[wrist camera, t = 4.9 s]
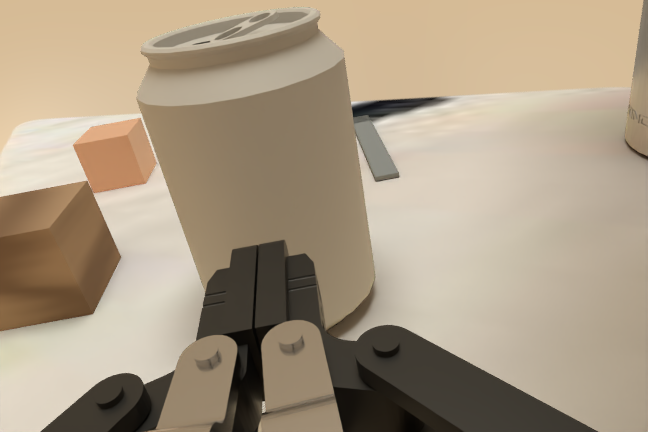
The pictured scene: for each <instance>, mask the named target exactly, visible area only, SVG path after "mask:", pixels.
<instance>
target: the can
mask: <svg viewBox="0 0 648 432" xmlns="http://www.w3.org/2000/svg"><path fill="white" fill-rule="evenodd" d="M319 19H320V12H319V11H318V10H317V9H313V8H310V7H293V8H281V9H272V10H265V11H258V12H252V13H246V14H241V15H236V16H230V17H225V18H221V19H216V20H211V21H207V22H203V23H199V24H195V25H191V26H187V27H184V28H181V29H177V30H174V31H171V32H167V33H165V34H162V35H159V36H157V37H154V38H152V39H150V40H148V41H147V42H145V43H143V45H142V46H141V54H142V55H144V56H146V57H147V58H148V60H149V63H150V65H149V68H148V70H147V72H146V74H145V76H144V79H143V81H142V83H141V85H140V87H139V90H138V92H137V102H138V104H139V108H140V110H141V113H142V116H143V119H144V122H145V124H146V127H147V130H148V133H149V136H150V138H151V141H152V144H153V147H154V150H155V152H156V155H157V158H158V161H159V164H160V166H161V169H162V172H163V175H164V178H165V180H166V183H167V186H168V189H169V192H170V194H171V197H172V200H173V203H174V206H175V208H176V211H177V214H178V217H179V220H180V223H181V225H182V228H183V231H184V234H185V237H186V239H187V242H188V245H189V248H190V251H191V253H192V256H193V259H194V262H195V265H196V267H197V270H198V273H199V276H200V279H201V281H202V284H203V287H204V290H205V292H206V287H207V282H208V281H209V280H210V278H211V277H212V276H213V274H214V273H215V272H216V270H219V269H224V268H229V267H230V260H231V253H232V250H233V249H237V248H242V247H247V246H253V245H259V244H263V243H268V242H273V241H279V240H285V242H286V245H287V249H288V253H289V256H292V255H298V254H303V253H306V254H307V256H308V257H309V258H310V259H311V260H312V261H313V262H314V266H315V270H316V275H317V280H318V284H319V289H320V293H321V298H322V303H323V310H324V318H325V325H326V330H327V329H329V328H330V327H332V326H334V325H335V324H337V323H339V322H340V321H342V320H343V319H344V318H345V317H346V316H347V315H348V314H350V313H352V312H353V311H354V310H355V309H356V308H357V307H358V306H359V304H360V303H361V302H362V301H363V300H364V299H365V298H366V297H367V296H368V295H369V292H370V290H371V287H372V285H373V282H374V279H375V271H374V262H373V255H372V248H371V241H370V234H369V227H368V220H367V213H366V206H365V199H364V192H363V185H362V178H361V171H360V164H359V157H358V150H357V143H356V136H355V129H354V122H353V114H352V107H351V100H350V94H349V87H348V79H347V73H346V65H345V58H344V51H343V50H342V49H341V48H340V47H339V46H338V45H336V44H335V43H334V42H333V41H332V40H331V39H329V38H328V37H327V36H326V35H325V34H324V33H323V32H321V31H320V30H319V29H318V25H317V22H318V20H319Z"/></svg>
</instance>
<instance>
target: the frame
mask: <svg viewBox="0 0 648 432" xmlns="http://www.w3.org/2000/svg"><path fill="white" fill-rule="evenodd" d="M353 122H354V129H355V133H356V135H357V138H358V140H359V142H360V145H361V147H362V149H363V152H364V154H365V157H366V159H367V161H368V164H369V166H370V169H371V171H372V173H373V176H374V178H375V180H376V181H380V180H385V179H390V178H396V177H399V172H398V170H397V168H396V167H395V165H394V163H393V161H392V159H391V157H390V155H389V154H388V152H387V150H386V148H385V146H384V144H383V142H382V140H381V139H380V137H379V135H378V133H377V131H376V129H375V127H374V125H373V124H372V122H371V120H370V118H369V116H368V115H366V116H360V117H355V118H353Z"/></svg>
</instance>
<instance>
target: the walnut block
mask: <svg viewBox="0 0 648 432" xmlns="http://www.w3.org/2000/svg"><path fill="white" fill-rule="evenodd" d="M120 259H121V256H120V254H119V251H118V249H117V247H116V245H115V242H114V240H113V238H112V236H111V233H110V231H109V229H108V227H107V224H106V222H105V220H104V217H103V215H102V213H101V211H100V208H99V206H98V204H97V202H96V199H95V197H94V195H93V193H92V190H91V188H90V186H89V184H88V181H83V182H78V183H72V184H67V185H62V186H56V187H51V188H46V189H40V190H35V191H30V192H25V193H19V194H14V195H9V196H3V197H0V331H4V330H9V329H15V328H20V327H26V326H31V325H36V324H42V323H47V322H53V321H58V320H63V319H69V318H74V317H80V316H85V315H90V314H93V313H94V311H95V309H96V307H97V305H98V303H99V301H100V299H101V297H102V295H103V293H104V291H105V289H106V287H107V285H108V283H109V281H110V279H111V277H112V275H113V273H114V271H115V269H116V267H117V265H118V263H119V261H120Z"/></svg>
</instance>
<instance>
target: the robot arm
mask: <svg viewBox="0 0 648 432" xmlns="http://www.w3.org/2000/svg"><path fill="white" fill-rule="evenodd" d="M625 140H626V141H627V142H628V144H629V145H630V146H631V147H632V148H634V149H635V150H636V151H638V152H639V153H641V154H644V155H646V156H648V0H644V1H643V8H642V15H641V22H640V30H639V38H638V44H637V51H636V58H635V66H634V72H633V79H632V86H631V94H630V101H629V106H628V115H627V123H626V130H625ZM262 401H265V406H266V412H265V413H262ZM41 432H598V431H596V430H594V429H592V428H590V427H588V426H586V425H585V424H583V423H581V422H579V421H577V420H575V419H573V418H572V417H570V416H568V415H566V414H564V413H562V412H560V411H558V410H557V409H555V408H553V407H551V406H549V405H547V404H545V403H543V402H542V401H540V400H538V399H536V398H534V397H532V396H530V395H528V394H527V393H525V392H523V391H521V390H519V389H517V388H515V387H514V386H512V385H510V384H508V383H506V382H504V381H502V380H500V379H499V378H497V377H495V376H493V375H491V374H489V373H487V372H485V371H484V370H482V369H480V368H478V367H476V366H474V365H472V364H470V363H469V362H467V361H465V360H463V359H461V358H459V357H457V356H456V355H454V354H452V353H450V352H448V351H446V350H444V349H442V348H441V347H439V346H437V345H435V344H433V343H431V342H429V341H427V340H426V339H424V338H422V337H420V336H418V335H416V334H414V333H412V332H411V331H409V330H407V329H405V328H402V327H399V326H394V325H383V326H378V327H375V328H372V329H370V330H368V331H366V332H365V333H363V334H362V335H361V336H360V337H359V339H358V340H357V341H347V340H341V339H338V338H335V337H333V336H331V335H330V334H328V333H327V332H326V325H325V318H324V310H323V303H322V298H321V293H320V289H319V284H318V280H317V275H316V270H315V266H314V262H313V261H312V260H311V259H310V258H309V257H308V256H307V254H306V253H303V254H298V255H292V256H289V253H288V249H287V245H286V242H285V240H279V241H273V242H268V243H263V244H259V245H253V246H247V247H242V248H237V249H233V250H232V253H231V260H230V267H229V268H224V269H219V270H216V272H215V273H214V274H213V276H212V277H211V278H210V280H209V281H208V282H207V287H206V292H205V297H204V302H203V308H202V312H201V318H200V323H199V328H198V333H197V338H196V341H195V342H194V343H192V344H191V345H190V346H188V347H187V348H186V349H185V350H184V351H183V353H182V354H181V356H180V358H179V360H178V363H177V366H176V369H175V370H174V371H173V372H171V373H169V374H167V375H165V376H163V377H160V378H158V379H156V380H154V381H151V382H149V383H147V384H143V382H142V380H141V379H140V377H138V376H137V375H134V374H130V373H122V374H117V375H113V376H111V377H108V378H106V379H104V380H102V381H101V382H99V383H98V384H96V385H95V386H94V387H92V388H91V389H90V390H89V391H88V392H87V393H85V394H84V395H83V396H82V397H81V398H79V399H78V400H77V401H76V402H75V403H74V404H72V405H71V406H70V407H69V408H68V409H67V410H65V411H64V412H63V413H62V414H61V415H60V416H58V417H57V418H56V419H55V420H54V421H52V422H51V423H50V424H49V425H48V426H47V427H45V428H44V429H43V430H42V431H41Z"/></svg>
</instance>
